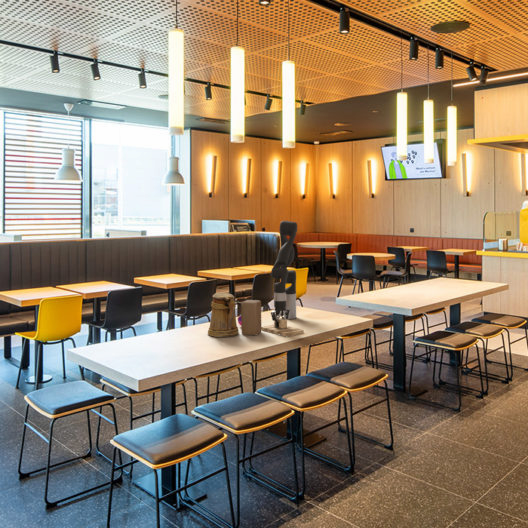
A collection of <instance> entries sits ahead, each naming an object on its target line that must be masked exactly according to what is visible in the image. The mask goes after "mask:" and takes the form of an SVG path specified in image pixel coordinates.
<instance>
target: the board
mask: <svg viewBox="0 0 528 528" xmlns="http://www.w3.org/2000/svg"><path fill="white" fill-rule="evenodd" d="M261 331H264V332H268V333H270V332H271V334H274V333H276V334H275V335H278V334H280V335H279V336H282V335H283V336H282V337H285V336H288V337H292V335H293V336H297V335H301V333H302V334H304V333H305V331H304V329H302V328H297V327H294V326H289V325H287V328H286V329H278V328H274V324H270V325H264V326H261ZM296 334H297V335H296Z"/></svg>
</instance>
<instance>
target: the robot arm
mask: <svg viewBox="0 0 528 528" xmlns="http://www.w3.org/2000/svg"><path fill="white" fill-rule="evenodd" d="M297 233H298V223H297V222H295V221H288V220H282V221H280V224H279V236H280V237H279V238H280V249H279V251H278V254H277V258H276V261H275V262H274V265H273V267H272V268H271V271H270V276H271V278H272V279H275V280H276V279H277V280H280V281H279V282H275V283H273V284H274V285H273V287H274V288H273V290H274V291H273V292H274V293H273V306H274V310H272V311H271V312H270V316H271V320H272V321H273V322H274V321H275V326H276V327H277V328H279V322H278V321H279V318H283V319H287V320H294V319H297V272H296V270H294V269H293V270H292V269H289V270H288V268H289V266H290V265H291V264H292V262H293V261H294V260H295V248H294V246H293V245H294V243H295V242H294V241H295V239H296V236H297ZM287 236H288V237H289V238H287ZM289 284H290V285H289ZM287 285H289V286H288V287H286V286H287Z"/></svg>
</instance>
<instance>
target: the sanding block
mask: <svg viewBox="0 0 528 528" xmlns="http://www.w3.org/2000/svg"><path fill="white" fill-rule="evenodd" d="M278 322H279V328H278V329H286V328H287V326H288V319H283V318H282V317H280V318H279V321H278ZM273 325H274V328H277V327H276V326H275V321H273Z"/></svg>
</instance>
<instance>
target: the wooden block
mask: <svg viewBox="0 0 528 528" xmlns="http://www.w3.org/2000/svg"><path fill="white" fill-rule="evenodd" d="M240 315H241V325H240V326H241V327H240V328H241V335H245V336H257V335H259V334H261V333H262V330H261V327H262V301H261V300H258V299H246V300H244V301H241V303H240Z"/></svg>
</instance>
